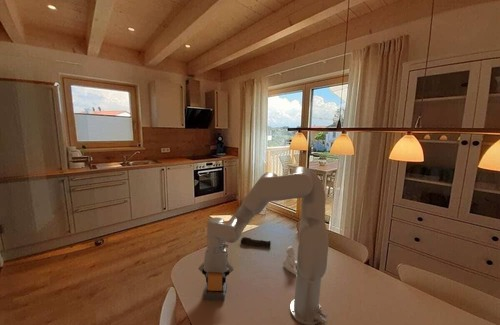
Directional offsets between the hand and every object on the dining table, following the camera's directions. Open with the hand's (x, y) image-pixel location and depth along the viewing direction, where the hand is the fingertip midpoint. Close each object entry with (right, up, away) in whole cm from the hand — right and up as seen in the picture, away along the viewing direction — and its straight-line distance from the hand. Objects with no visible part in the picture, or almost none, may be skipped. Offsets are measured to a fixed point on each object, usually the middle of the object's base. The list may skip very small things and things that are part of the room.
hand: (216, 283), depth 95 cm
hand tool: (+18, +1, +39) cm, 43 cm away
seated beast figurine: (+37, -3, +19) cm, 41 cm away
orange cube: (0, -1, 0) cm, 1 cm away
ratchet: (0, -3, +11) cm, 11 cm away
